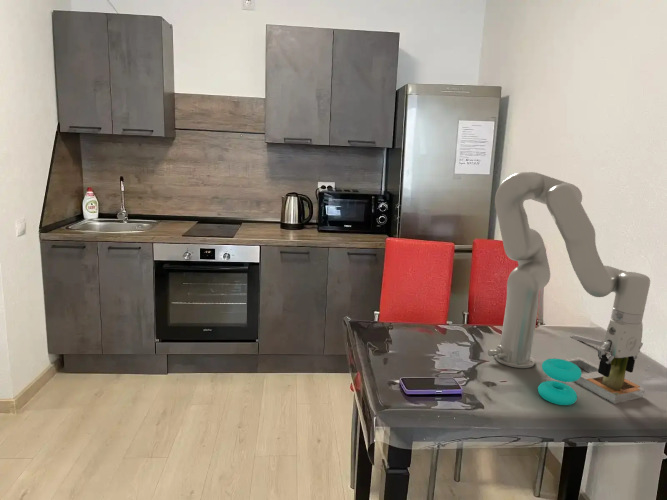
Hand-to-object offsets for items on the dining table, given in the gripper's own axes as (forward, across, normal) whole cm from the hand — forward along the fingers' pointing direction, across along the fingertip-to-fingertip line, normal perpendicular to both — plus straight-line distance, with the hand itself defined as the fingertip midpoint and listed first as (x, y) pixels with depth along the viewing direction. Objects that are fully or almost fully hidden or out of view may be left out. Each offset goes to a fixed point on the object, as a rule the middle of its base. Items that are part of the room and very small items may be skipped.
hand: (615, 372), depth 144 cm
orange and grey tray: (+6, 0, +6) cm, 8 cm away
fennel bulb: (+6, 0, 0) cm, 6 cm away
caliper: (+6, +23, +25) cm, 35 cm away
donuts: (+6, -20, +2) cm, 21 cm away
